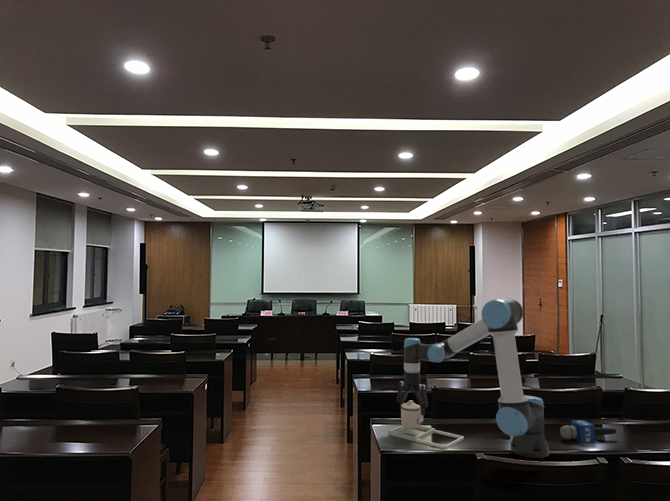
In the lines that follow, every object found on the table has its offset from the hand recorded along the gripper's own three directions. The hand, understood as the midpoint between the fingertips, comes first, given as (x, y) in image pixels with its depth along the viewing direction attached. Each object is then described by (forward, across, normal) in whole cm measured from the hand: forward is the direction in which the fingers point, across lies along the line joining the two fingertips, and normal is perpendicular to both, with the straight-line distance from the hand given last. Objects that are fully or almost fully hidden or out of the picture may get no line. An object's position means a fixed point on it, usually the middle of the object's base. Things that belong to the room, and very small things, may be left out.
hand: (412, 419), depth 228 cm
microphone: (+6, -65, -46) cm, 80 cm away
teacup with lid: (+3, +1, 0) cm, 3 cm away
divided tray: (+6, -8, 0) cm, 10 cm away
